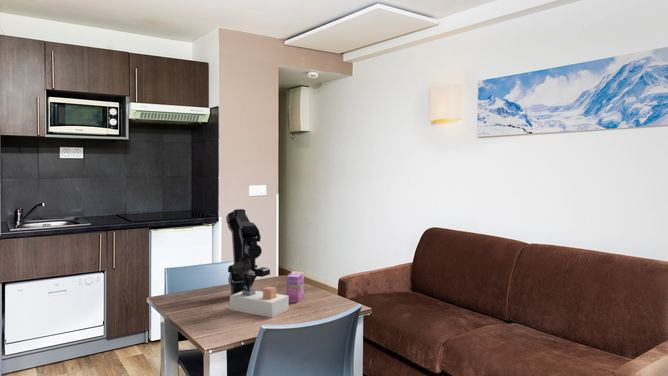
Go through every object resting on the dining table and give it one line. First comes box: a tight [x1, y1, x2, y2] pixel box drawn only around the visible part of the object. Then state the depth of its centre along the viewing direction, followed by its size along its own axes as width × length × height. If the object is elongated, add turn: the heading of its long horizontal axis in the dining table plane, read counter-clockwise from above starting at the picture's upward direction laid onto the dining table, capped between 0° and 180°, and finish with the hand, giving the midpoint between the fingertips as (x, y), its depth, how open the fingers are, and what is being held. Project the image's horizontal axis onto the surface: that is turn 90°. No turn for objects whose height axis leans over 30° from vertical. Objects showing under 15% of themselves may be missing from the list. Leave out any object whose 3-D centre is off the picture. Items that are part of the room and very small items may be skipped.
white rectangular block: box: [229, 290, 290, 318], centre depth 195 cm, size 22×12×6 cm, turn 63°
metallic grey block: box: [242, 288, 256, 296], centre depth 197 cm, size 4×4×6 cm
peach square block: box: [262, 285, 277, 299], centre depth 192 cm, size 4×4×6 cm
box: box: [285, 271, 305, 303], centre depth 211 cm, size 10×6×12 cm, turn 168°
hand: (248, 289), depth 197 cm, fingers closed, pressing on metallic grey block
